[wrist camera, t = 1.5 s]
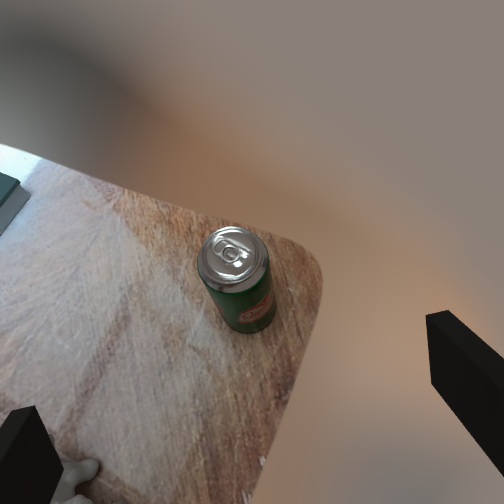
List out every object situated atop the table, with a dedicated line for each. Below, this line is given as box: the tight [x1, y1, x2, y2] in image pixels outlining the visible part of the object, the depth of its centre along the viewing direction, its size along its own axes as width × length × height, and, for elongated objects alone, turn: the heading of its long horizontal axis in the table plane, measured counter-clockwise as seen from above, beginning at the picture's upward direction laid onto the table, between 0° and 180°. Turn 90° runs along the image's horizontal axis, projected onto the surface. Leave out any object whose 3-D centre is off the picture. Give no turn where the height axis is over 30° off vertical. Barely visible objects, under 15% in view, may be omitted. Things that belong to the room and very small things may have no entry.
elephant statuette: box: [0, 425, 126, 504], centre depth 31 cm, size 9×12×8 cm
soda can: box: [197, 226, 276, 333], centre depth 34 cm, size 5×5×12 cm
